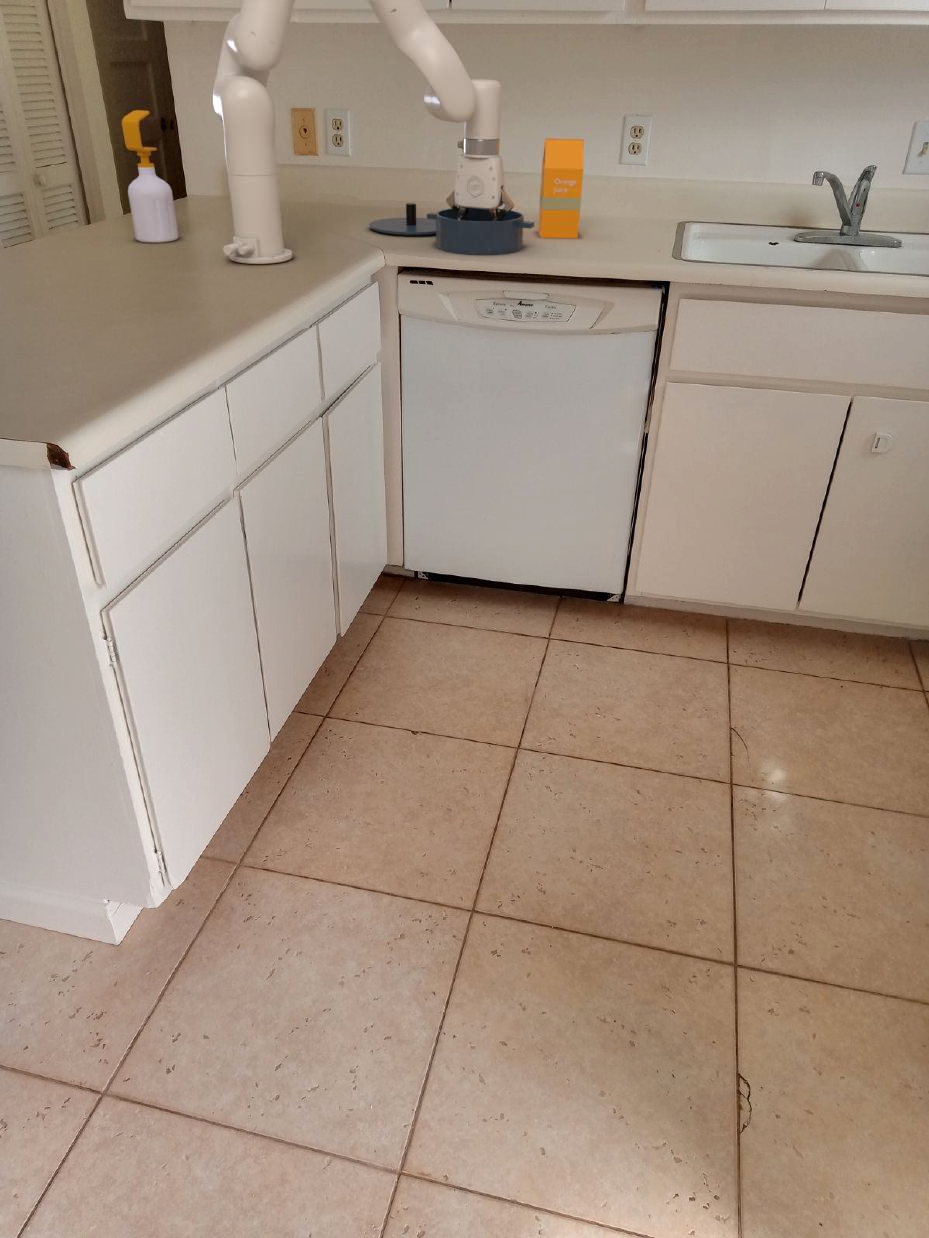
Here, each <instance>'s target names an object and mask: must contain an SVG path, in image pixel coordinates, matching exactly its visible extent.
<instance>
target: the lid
mask: <svg viewBox="0 0 929 1238" xmlns="http://www.w3.org/2000/svg"><path fill="white" fill-rule="evenodd" d="M368 227H369V229H370V230H373V231H375V232H379V233H381V234H384V235H385V234H386V235H392V236H400V237H402V236H403V237H424V236H436V219H427V217H417V203H414V202H408V203H405V217H388V218H383V219H376V220H373V221H371V222H370V223H369V224H368Z"/></svg>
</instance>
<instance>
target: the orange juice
mask: <svg viewBox="0 0 929 1238" xmlns="http://www.w3.org/2000/svg"><path fill="white" fill-rule="evenodd" d="M540 176H541V177H540V178H541V179H540V193H539V209H538V225H537V226H538V228H537V232H538V235H539V237H540V238H541V239H543V238H545V239H547V238H549V239H578V237H579V227H580V217H581V216H580V214H581V205H582V190H583V178H584V139H583V138H582V139H580V138H579V139H578V138H576V139H575V138H544V147H543V156H542V164H541V175H540Z"/></svg>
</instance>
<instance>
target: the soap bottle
mask: <svg viewBox="0 0 929 1238" xmlns="http://www.w3.org/2000/svg"><path fill="white" fill-rule="evenodd" d="M150 114H151V113H150V111H149V110H140V109H136V110H133V111H131V112H129V113H128V114H126V115H125V116H124V117H123V118H122V120H121V127H122V132H123V138H124V144H125V145H124V146H125V147H126V149H127V150H128V151H131V152H132V151H134V152H136V155H137V156H138V157H140V162H139V163H137V170H138V176H137V178H135V179H134V180H132V181H131V183H130V184H128V188H127V196H128V202H129V207H130V213H131V219H132V226H133V231H134V236H135V240H136V241H138V242H141V243H146V244H147V243H149V244H161V243H169V242H170V243H171V242H174V241H177V240H178V239H179V231H178V223H177V216H176V210H175V202H174V196H173V189H172V188H171V186H170V184H168V183H167V182H166V181H165V180H163V179H162V178H160V177H159V176H157V174H156V169H155V163H153V162H150V156H152V153H151V152H153V151H154V152H155V151H158V148H157V147H151V146H143V144H142V136H141V132H140V131H141V130H140V122H141V120H143V119H144V118H146V117H147V116H149V115H150Z"/></svg>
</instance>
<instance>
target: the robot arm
mask: <svg viewBox="0 0 929 1238" xmlns="http://www.w3.org/2000/svg"><path fill="white" fill-rule="evenodd" d="M295 2H296V0H242V2H241V7H240V10H239V12H238V13H236V14H235V15H234V16H232V17H231V19H230V21H229V22H228V24H227V27H226V29H225V31H224V36H223V40H222V44H221V49H220V55H219V59H218V65H217V70H216V74H215V80H214V85H213V92H212V104H213V109H214V111H215V114H216V116H217V117H218V119H219V120H220V121H221V123H222V124H223V137H224V152H225V154H224V155H225V164H226V165H225V166H226V172H227V179H228V180H227V181H228V189H229V199H230V207H231V215H232V225H233V234H234V236H232V243H229V244H225V245H224V246H223V248H222V252H223V254H224V255H225V256H228V257H229V260H230V261H233V262H236V263H240V264H247V265H248V264H251V265H267V264H277V263H284V262H287V261H290V260H292V258H293V251H292V250H291V249H288V248H285V245H284V233H283V220H282V208H281V197H280V196H281V195H280V183H279V175H278V161H277V147H276V110H275V104H274V102H273V98H272V96H271V94H270V91H268V89H267V87H268V83H269V82H268V81H269V76H270V72H271V71H272V70H273V69H275V68H276V67H277V66H278V65H279V64H280V62H282V59H283V57H284V53H285V47H286V42H287V37H288V31H289V28H290V22H291V18H292V13H293V9H294V5H295ZM367 2H368V4H369V6H370V7H371V10H372V12H373V13H374V15H375V17H376V18H377V20H378V22H379V24H380V26H381V27H382V29H383V31H384V32H385V34H386V37H387V38H388V40H389V42H390V43H391V44H392V45H393V46H394V47H395V49H396V50H397V51H398V52H399V53H400V54H402V55H403V56H404V57H406V58H407V59H408V60H409V61H411V63H413V65H415V67H416V68H417V69H418V70H419V72H420V73H421V74H422V75H423V76H424V78H425V80H426V81H427V83H428V84H427V86H426V88H425V90H424V92H423V93H424V94H423V104H424V107H425V109H426V111H427V112H428V113H429V114H430V115H431V116H432V117H433V118H435V119H437V120H440V121H444V122H449V123H454V124H461V123H462V124H463V138H462V140H458V141H457V148H458V149H462V153H463V154H459V156H458V160H457V168H456V173H455V183H454V189H453V191H452V192H451V193H450V194H449V195H448V197H446V198H445V202H446V204H447V205H448V206H449V207H450V209H451V208H452V210H453V212H454V213H455V214H456V216H457V218H458V220H464V221H469V219H468V218H467V215H468V213H469V210H470V208H476V209H488V210H489V213H490V216H491V219H492V221H501V220H502V219H503V218H504V217H505V216H506V215H507V213H508V212H509V211H510V210H513V209H514V208H515V203H514V202H513V201H512V199H511V198H510V196H509V195H508V194H507V193H506V191H505V171H504V163H503V162H504V161H503V156H500V136H501V115H502V113H501V112H502V111H501V110H502V109H501V108H502V86H501V83H500V82H499V81H498V80H495V79H485V78H484V79H482V78H481V79H480V78H478V79H477V78H475V79H473V78H472V79H471V77H470V75H469V73H468V72H467V70H466V68H465V66H464V63H463V62H462V60H461V58H460V56H459V54H458V53H457V52H456V50H455V49H454V47H453V46H452V45H451V43H450V42H449V40H448V38H446V37H445V35H444V34H443V32H442V31H441V29H440V28H439V27H438V25H437V24H436V23H435V22H434V20H433V19H432V18H431V16H430V15H429V14H428V12H427V10H426V8H425V6H424V4H423V2H422V1H421V0H367ZM502 206H504V207H503V208H501V209H502V210H501V211H499V209H500V207H502Z"/></svg>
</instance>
